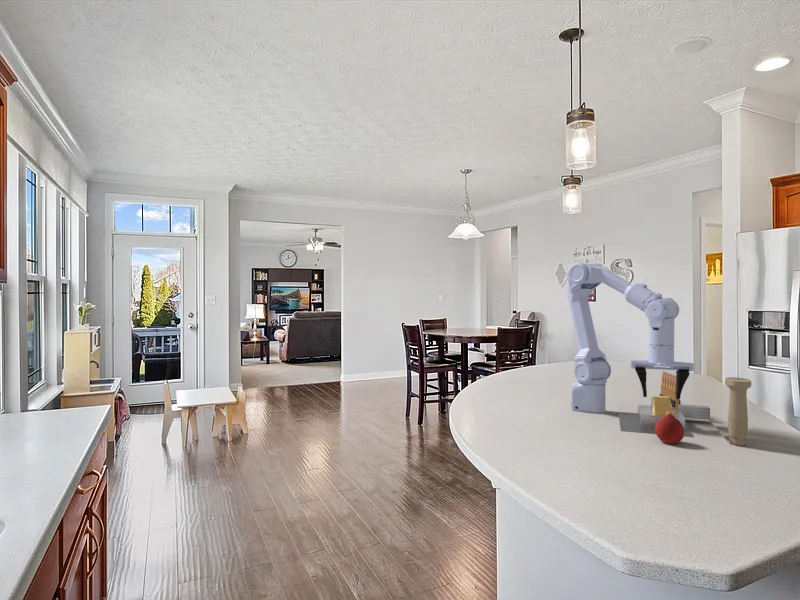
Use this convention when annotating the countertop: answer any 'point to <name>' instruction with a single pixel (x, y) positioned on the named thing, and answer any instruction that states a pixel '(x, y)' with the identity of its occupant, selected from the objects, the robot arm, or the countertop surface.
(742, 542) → the countertop surface
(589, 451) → the countertop surface
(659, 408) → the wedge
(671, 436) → the onion
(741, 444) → the handle
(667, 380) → the ammunition clip
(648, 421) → the grey stepped platform
